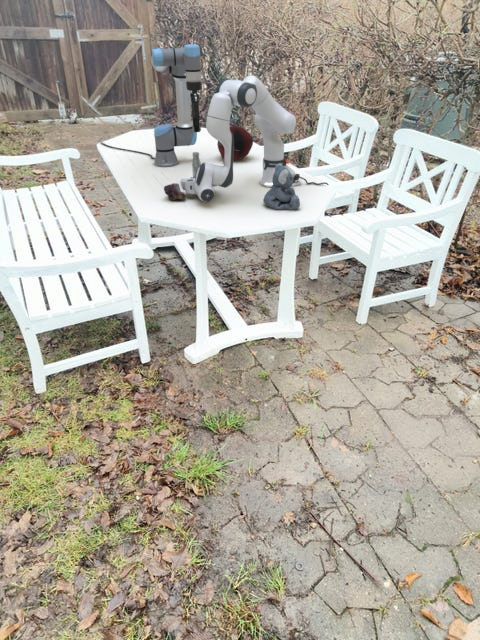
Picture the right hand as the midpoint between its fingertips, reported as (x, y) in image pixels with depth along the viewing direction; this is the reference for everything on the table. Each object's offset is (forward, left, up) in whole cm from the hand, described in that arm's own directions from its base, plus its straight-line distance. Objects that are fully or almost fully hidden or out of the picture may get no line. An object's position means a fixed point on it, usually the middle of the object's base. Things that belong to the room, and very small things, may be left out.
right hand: (196, 178), depth 247 cm
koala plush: (-37, +36, -7) cm, 51 cm away
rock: (+15, +11, -7) cm, 20 cm away
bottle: (0, +1, -7) cm, 7 cm away
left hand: (-2, -3, +24) cm, 24 cm away
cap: (-2, -3, +26) cm, 26 cm away
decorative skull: (-36, -57, -7) cm, 67 cm away
